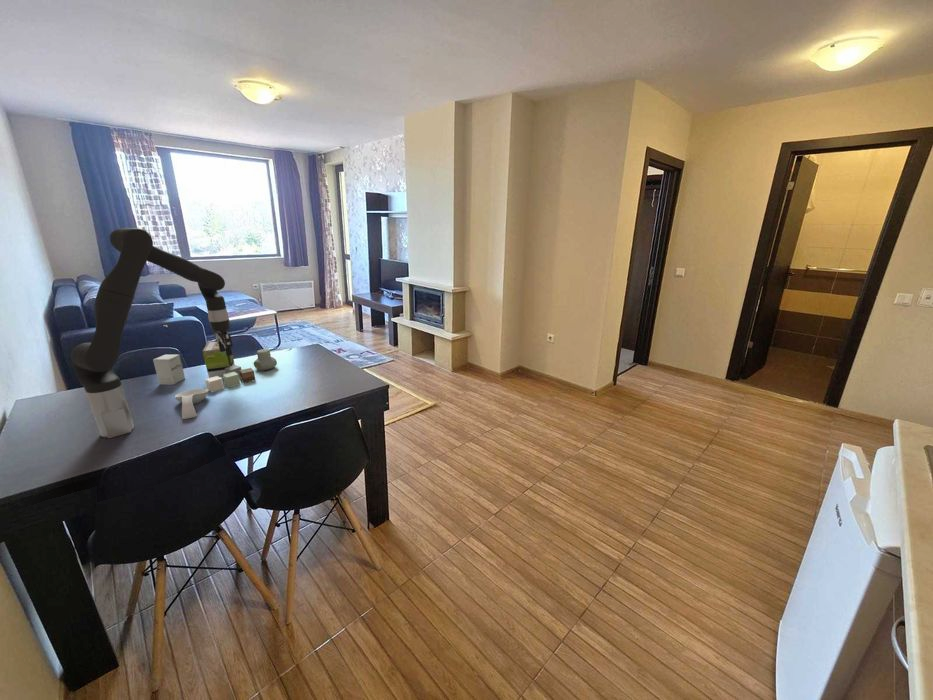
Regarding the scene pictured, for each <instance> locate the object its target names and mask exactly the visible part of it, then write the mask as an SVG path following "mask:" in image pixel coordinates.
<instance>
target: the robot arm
mask: <svg viewBox="0 0 933 700" xmlns="http://www.w3.org/2000/svg"><path fill="white" fill-rule="evenodd" d="M109 242H110V245H111V246H112V248H114V249H115V250H117V251H118V252H120V254H119V256H118V257H119V258H118V260H117V262H116V264H115V266H114V267H113V268H112V270H111V271H110V272H109V273H108V274H107V275H106V276H105V277H104V279H103V280H102V282H101V283H100V286H99V287H98V291H97V293H96V296H95V298H94V307H93V308H94V309H93V310H94V317H95V330H94V334H93V337H92V340H91V342H83V343H80V344H78V345H77V346H75V347H74V348H73V350H72V351H71V354H70V360H71V364H72V366H73V369H74V372H75V374H76V377H77V379H78V381H79V383H80V385H82V387H83V388H84V390H85V393H86V397H87V399H88V403H89V405H90V409H91V412H92V414H93V417H94V419H95V423H96V426H97V429H98V432H99V434H100V437H102V438H108V439H112V438H115V437H118V436H121V435H125V434H128V433H132V430H133V429H134V428H135V425H134V421H133V417H132V414H131V411H130V408H129V405H128V402H127V399H126V393H125V391H124V389H123V385H122V381H121V379H120V377H119V376H118V375H117V374H116V373H115V372H114V371H113V370H112V368H113V367H115V365H116V363H117V362H118V358H119V355H120V349H121V342H122V337H123V333H124V329H125V326H126V323H127V320H128V317H129V313H130V310H131V308H132V305H133V301H134V299H135V294H136V290H137V288H138V285H139V283H140V282H139V281H140V278H141V275H142V273H143V270H144V267H145V265H146V264H147V262H148V263H151V264H154V265H156V266H158V267H161V268H162V269H165V270H167V271H169V272H170V273H173V274H175V275H177V276H179V277H182V278H183V279H185V280H187V281H190V282H193V283H197V285H198V289H199V291H200V293H201V295H202V297H203V298H204V300H205V304H206V309H207V317H208V322H209V326H210V330H211V331H212V332H213V333H214V338H215V342H217V343H218V345H219V349H220V352H224V351H226V355H227V356H230V355H233V351H232V347H233V341H232V336H231V334H230V333H228V330H230V329H231V327H232V326H231V322H230V318H229V312H228V309H227V305H226V301H225V298H224V296H222V295H221V294H219V293H218V291H221V290H223V289H224V288H225V286H226V282H225V281H226V280H225V279H224V278H223V276H221V275H220V274H218V273H216V272H214V271H211V270H209V269H207V268H203V267H202V266H199V265H197V264H196V263H193V262H192V261H190V260H188V259H186V258H183V256H180V255H177V254H174V253H171V252H169V251H165V250H163V249H161V248H159V247H156V246H154V245H153V244H154V240H153V238H152V236H151V234H150V232H148V231H146V230H145V229H143V228H142V229H141V228H139V227H120V228H116V229H114V230H113V231H111V233H110V234H109ZM227 343H228V344H229V345H227Z"/></svg>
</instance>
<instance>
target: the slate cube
mask: <svg viewBox="0 0 933 700" xmlns="http://www.w3.org/2000/svg"><path fill="white" fill-rule="evenodd" d="M239 370H242V367H241V366H239V365H236V364H235V365H234V366H230V367H227V368H225V372H226V374H227V373H231V372H236V373H237V374H238V375H239V378H241V376H240V371H239Z"/></svg>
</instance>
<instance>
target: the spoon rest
mask: <svg viewBox="0 0 933 700" xmlns="http://www.w3.org/2000/svg"><path fill="white" fill-rule="evenodd" d="M209 392H210V390H208V389H207V388H203V387H202V388H193V389H189V390H185V391H182V392H180V393H177V394H176V395H175V396H174V398H175V400H177V401H178V402H179V403H181V418H182V420H187V419H192V418H196V417H198V414H197V412H196V409H195V406H194V405H196V404H198V403H200V402H202V401H203V400H204V399H205V398H207V396H208V394H209Z"/></svg>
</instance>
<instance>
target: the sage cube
mask: <svg viewBox="0 0 933 700" xmlns="http://www.w3.org/2000/svg"><path fill="white" fill-rule="evenodd" d="M222 380H223V382H224V383H223V384H224V385H225V386H226V387H228V388H231V387H235V386H238V385H240V384H241V382H240V381H241V379H240V377H239V375H238V374H237V373H236V372H231V373H227V374H223V377H222Z"/></svg>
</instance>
